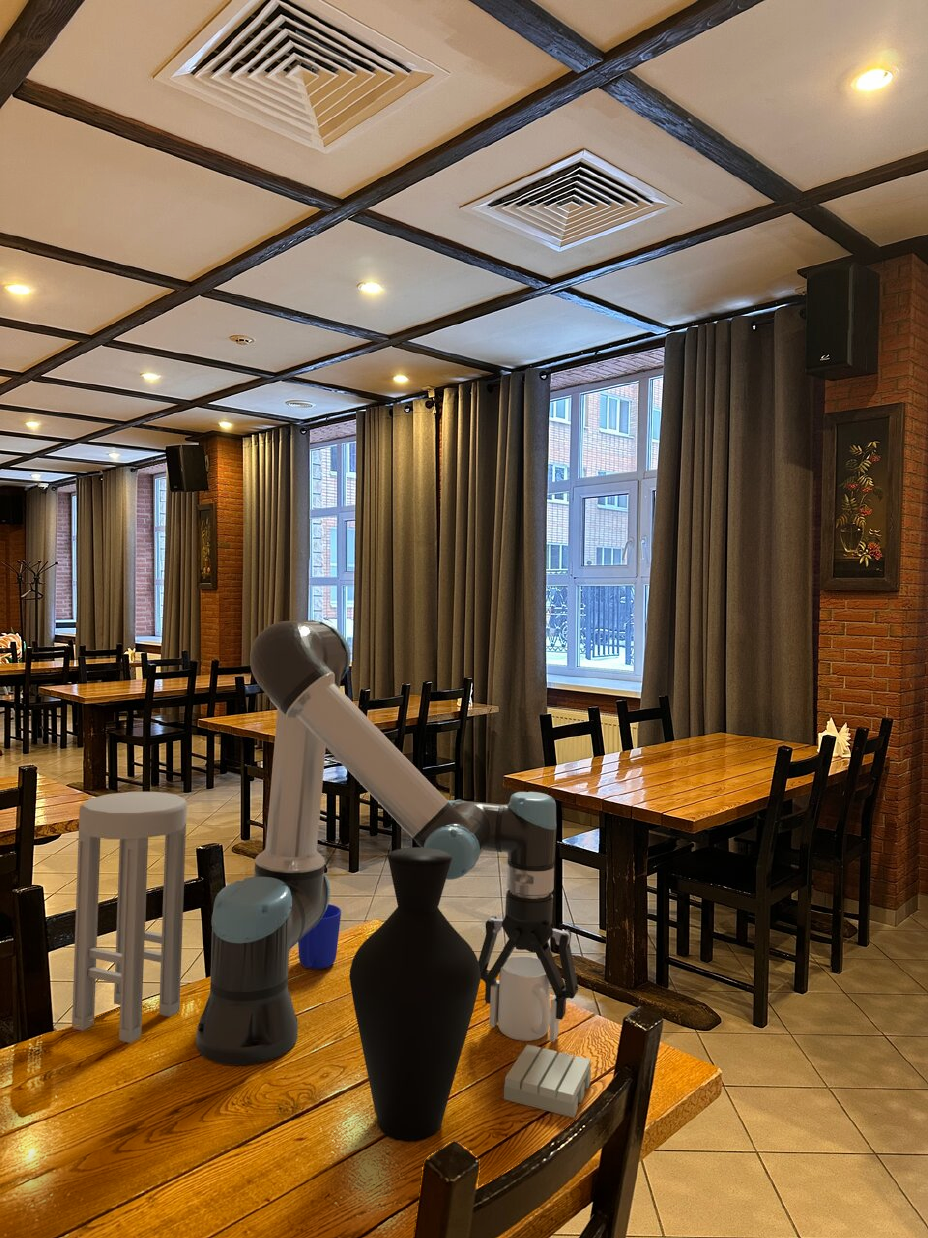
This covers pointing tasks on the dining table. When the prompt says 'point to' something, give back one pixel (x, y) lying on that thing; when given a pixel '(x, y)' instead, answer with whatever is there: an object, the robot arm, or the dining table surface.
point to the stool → (129, 904)
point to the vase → (414, 999)
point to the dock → (548, 1080)
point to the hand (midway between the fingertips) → (523, 1030)
